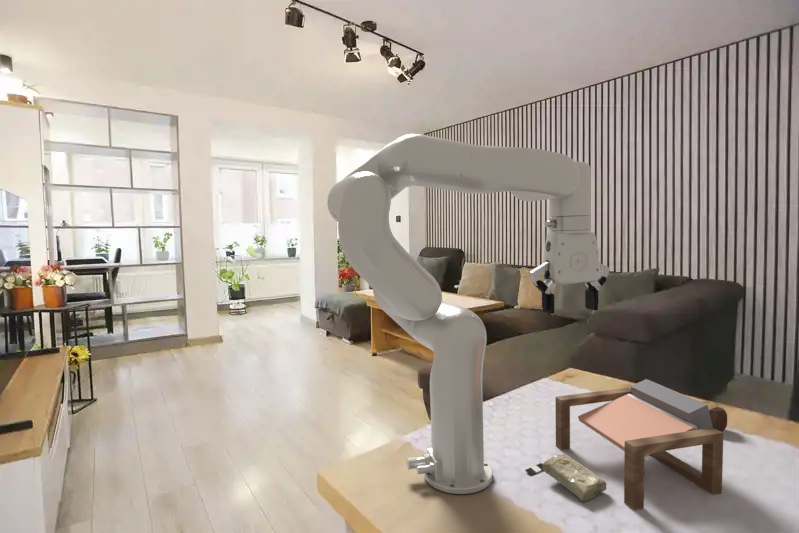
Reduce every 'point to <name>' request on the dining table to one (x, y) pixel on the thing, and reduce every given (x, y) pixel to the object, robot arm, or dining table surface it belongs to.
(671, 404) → the trapdoor
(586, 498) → the cuneiform tablet
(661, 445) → the frame
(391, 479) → the dining table surface
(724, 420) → the bolt
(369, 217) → the robot arm
